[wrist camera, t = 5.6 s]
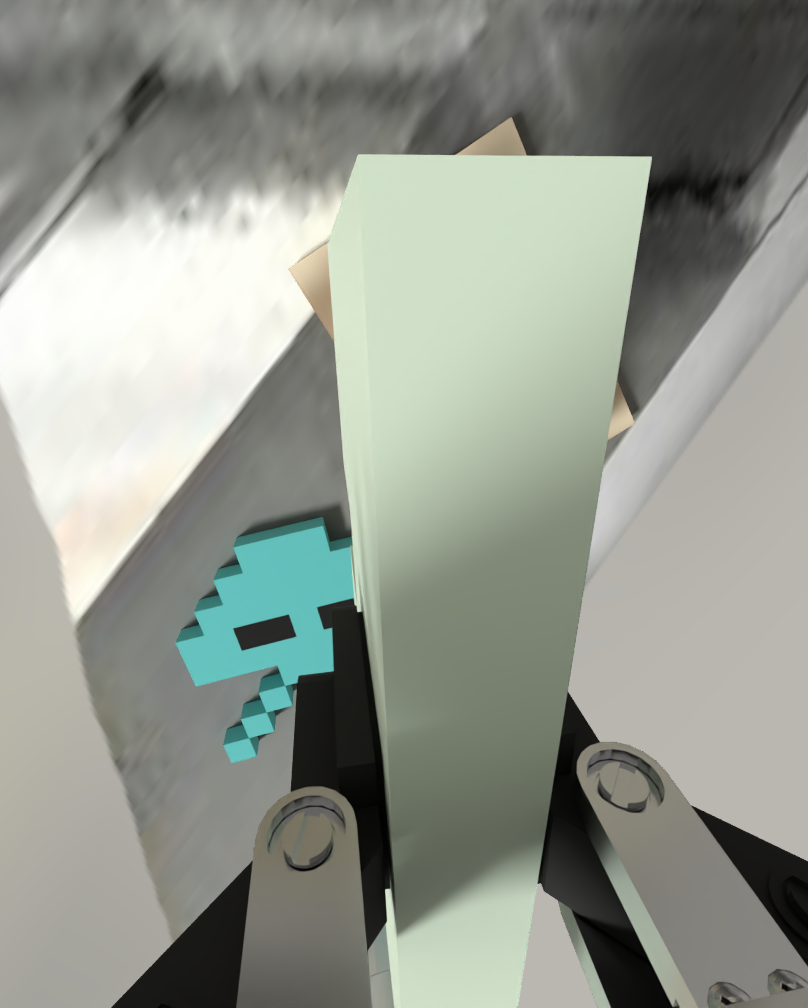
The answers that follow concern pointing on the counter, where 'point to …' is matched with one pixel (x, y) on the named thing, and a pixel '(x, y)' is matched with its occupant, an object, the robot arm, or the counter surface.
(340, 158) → the counter surface
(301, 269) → the cross stand
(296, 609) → the alien figure
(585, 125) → the counter surface
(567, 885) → the robot arm
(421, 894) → the slotted plate
